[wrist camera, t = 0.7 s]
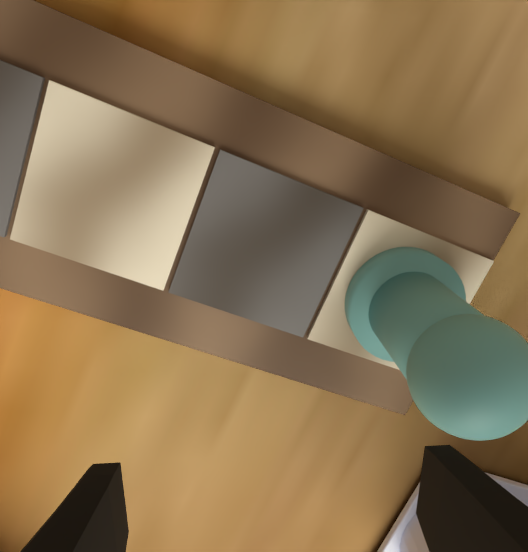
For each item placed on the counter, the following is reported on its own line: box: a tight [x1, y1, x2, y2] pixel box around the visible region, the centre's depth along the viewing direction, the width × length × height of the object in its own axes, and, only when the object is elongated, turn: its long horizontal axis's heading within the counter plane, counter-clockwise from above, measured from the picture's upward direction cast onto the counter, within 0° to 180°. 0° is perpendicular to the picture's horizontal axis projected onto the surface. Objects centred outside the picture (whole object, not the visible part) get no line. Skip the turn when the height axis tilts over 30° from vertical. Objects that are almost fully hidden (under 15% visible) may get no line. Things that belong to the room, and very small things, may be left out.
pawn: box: [345, 247, 528, 441], centre depth 15 cm, size 5×5×8 cm
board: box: [0, 0, 520, 415], centre depth 18 cm, size 24×10×1 cm, turn 68°
